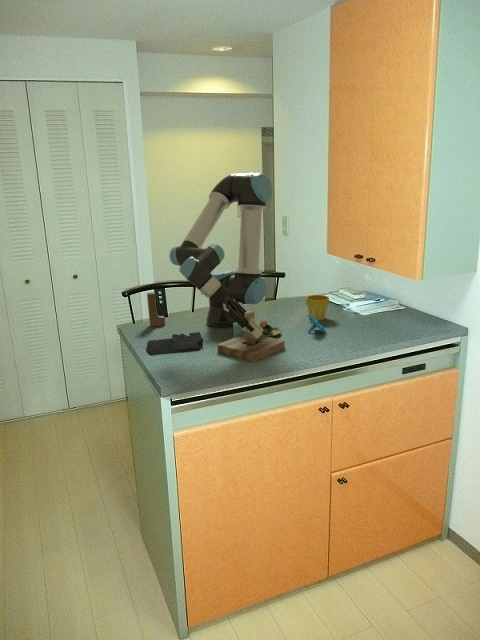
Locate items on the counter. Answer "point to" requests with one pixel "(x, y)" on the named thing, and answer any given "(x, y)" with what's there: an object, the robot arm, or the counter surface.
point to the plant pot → (317, 306)
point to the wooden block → (154, 311)
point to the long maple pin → (249, 337)
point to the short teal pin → (237, 330)
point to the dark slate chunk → (176, 344)
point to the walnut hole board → (251, 347)
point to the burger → (269, 329)
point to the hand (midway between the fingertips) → (260, 334)
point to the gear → (315, 324)
